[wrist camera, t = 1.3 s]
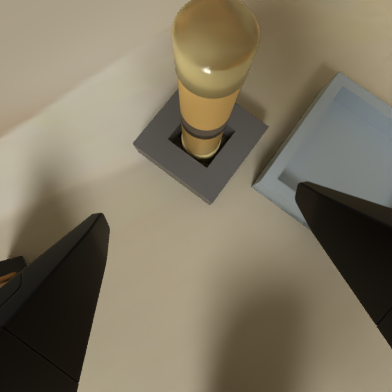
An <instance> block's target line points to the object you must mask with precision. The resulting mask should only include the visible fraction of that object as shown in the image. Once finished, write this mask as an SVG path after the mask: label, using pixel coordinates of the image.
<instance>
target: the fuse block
mask: <svg viewBox="0 0 392 392" xmlns="http://www.w3.org/2000/svg"><path fill="white" fill-rule="evenodd" d="M179 104H180V100H179V89H178V90H177V91H176V92H175V94H174V95H173V96H172V97H171V98H170V100H169V101H168V102H167V103H166V104H165V105H164V107H163V108H162V109H161V110H160V111H159V113H158V114H157V115H156V116H155V117H154V119H153V120H152V121H151V122H150V123H149V125H148V126H147V127H146V128H145V129H144V131H143V132H142V133H141V134H140V135H139V136H138V138H137V139H136V140H135V141H134V142H133V145H134V146H135V148H136V149H137V150H138V152H139V153H141V154H142V155H143V156H145V157H146V158H147V159H149V160H150V161H151V162H153V163H154V164H155V165H157V166H158V167H159V168H161V169H162V170H163V171H165V172H166V173H167V174H169V175H170V176H171V177H173V178H174V179H175V180H177V181H178V182H179V183H181V184H182V185H183V186H185V187H186V188H188V189H189V190H190V191H192V192H193V193H194V194H196V195H197V196H198V197H200V198H201V199H202V200H204V201H205V202H206V203H208V204H209V205H211V204H212V203H213V201H214V200H215V199H216V197H217V196H218V195H219V193H220V192H221V191H222V189H223V188H224V187H225V185H226V184H227V182H228V181H229V180H230V178H231V177H232V176H233V174H234V173H235V172H236V170H237V169H238V168H239V166H240V165H241V164H242V162H243V161H244V160H245V158H246V157H247V155H248V154H249V153H250V151H251V150H252V149H253V147H254V146H255V145H256V143H257V142H258V141H259V139H260V138H261V137H262V135H263V134H264V133H265V131H266V130H267V129H268V127H269V126H267V125H266V124H264V123H263V122H261V121H260V120H259V119H257V118H256V117H254V116H253V115H252V114H250V113H249V112H247V111H246V110H245V109H243V108H242V107H240V106H239V105H237V104H236V103H235V104H234V106H233V109H232V113H231V116H230V119H229V121H228V124H227V126H226V128H225V130H224V133H223V135H224V136H225V137H227V138H228V139H229V140H228V141H227V143H226V144H225V145H224V147H223V148H222V149H221V151H220V152H219V153H218V154H217V156H216V157H215V158H214V160H213V161H212V162H211V164H210V165H209V166H208V168H206V167H205V166H203V165H202V164H201V163H199V162H198V161H196V160H195V159H194V158H192V157H191V156H190V155H188V154H187V153H186V152H184V151H183V150H182V149H180V148H179V147H177V146H176V145H175V144H174V142H175V141H176V140H177V139H178V137H179V136H180V135H181V134H182V125H181V120H180V108H179Z"/></svg>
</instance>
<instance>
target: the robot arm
mask: <svg viewBox="0 0 392 392" xmlns="http://www.w3.org/2000/svg"><path fill="white" fill-rule="evenodd" d="M295 202H296V204H297V206H298V208H299V209H300V211H301V213H302V215H303V217H304V219H305V221H306V223H307V224H308V226H309V228H310V229H311V231H312V233H313V234H314V235H315V237H316V238H317V240H318V241H319V243H320V244H321V246H322V247H323V249H324V250H325V251H326V253H327V254H328V256H329V257H330V259H331V260H332V262H333V263H334V265H335V266H336V268H337V269H338V270H339V272H340V273H341V275H342V276H343V278H344V279H345V281H346V282H347V284H348V285H349V287H350V288H351V289H352V291H353V292H354V294H355V295H356V297H357V298H358V300H359V301H360V303H361V304H362V306H363V307H364V308H365V310H366V311H367V313H368V314H369V316H370V317H371V319H372V320H373V322H374V323H375V324H376V325H377V328H378V329H379V331H380V332H381V334H382V335H383V336H384V338H385V339H386V341H387V342H388V344H389V345H390V347H391V348H392V208H390V207H386V206H383V205H380V204H377V203H374V202H371V201H368V200H365V199H362V198H359V197H355V196H352V195H349V194H346V193H343V192H340V191H337V190H334V189H331V188H328V187H325V186H321V185H318V184H315V183H312V182H309V181H305V182H300V183H298V185H297V189H296V194H295ZM109 234H110V228H109V225H108V223H107V221H106V218H105V216H104V214H103V213H95V214H92V215H91V216H89V217H88V218H87V219H86V220H84V221H83V222H82V223H81V224H79V225H78V226H77V227H76V228H74V229H73V230H72V231H71V232H69V233H68V234H67V235H66V236H64V237H63V238H62V239H61V240H59V241H58V242H57V243H56V244H54V245H53V246H52V247H51V248H49V249H48V250H47V251H46V252H44V253H43V254H42V255H41V256H39V257H38V258H37V259H36V260H34V261H33V262H32V263H31V264H29V265H28V266H27V267H26V268H24V269H23V270H22V271H21V272H19V273H18V274H17V275H16V276H14V277H13V278H12V279H11V280H9V281H8V282H7V283H5V284H4V285H3V286H2V287H0V392H77V389H78V385H79V384H78V383H79V380H80V375H81V371H82V367H83V362H84V358H85V354H86V349H87V345H88V340H89V336H90V332H91V327H92V323H93V319H94V314H95V310H96V306H97V301H98V297H99V292H100V288H101V284H102V279H103V275H104V271H105V266H106V261H107V253H108V243H109Z"/></svg>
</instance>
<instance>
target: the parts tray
mask: <svg viewBox="0 0 392 392" xmlns="http://www.w3.org/2000/svg"><path fill="white" fill-rule="evenodd" d="M305 181H309V182H312V183H315V184H318V185H321V186H325V187H328V188H331V189H334V190H337V191H340V192H343V193H346V194H349V195H352V196H355V197H359V198H362V199H365V200H368V201H371V202H374V203H377V204H380V205H383V206H386V207H390V208H392V107H391V106H389V105H388V104H386V103H385V102H383V101H382V100H381V99H379V98H378V97H376V96H375V95H373V94H372V93H370V92H369V91H367V90H366V89H364V88H363V87H361V86H360V85H358V84H357V83H355V82H354V81H352V80H351V79H349V78H348V77H346V76H345V75H344V74H342V73H341V72H338V73H337V74H336V75H335V76H334V77H333V78H332V79H331V80H330V81H329V82H328V83H327V84H326V85H325V86H324V87H323V88H322V89H321V91H320V92H319V93H318V95H317V96H316V98H315V99H314V100H313V102H312V103H311V105H310V106H309V107H308V109H307V110H306V112H305V113H304V114H303V116H302V117H301V118H300V120H299V121H298V123H297V124H296V125H295V127H294V128H293V130H292V131H291V132H290V134H289V135H288V136H287V138H286V139H285V141H284V142H283V143H282V145H281V146H280V148H279V149H278V150H277V152H276V153H275V155H274V156H273V157H272V159H271V160H270V161H269V163H268V164H267V166H266V167H265V168H264V170H263V171H262V173H261V174H260V175H259V177H258V178H257V180H256V181H255V182H254V184H253V185H252V186H251V187H253V188H254V189H255V190H257V191H258V192H259V193H261V194H262V195H264V196H265V197H266V198H268V199H269V200H270V201H272V202H273V203H274V204H276V205H277V206H279V207H280V208H281V209H283V210H284V211H285V212H287V213H288V214H290V215H291V216H292V217H294V218H295V219H296V220H298V221H299V222H300V223H302V224H303V225H305V226H306V227H307V228H309V226H308V224H307V223H306V221H305V219H304V217H303V215H302V213H301V211H300V209H299V208H298V206H297V204H296V202H295V194H296V189H297V185H298V183H300V182H305ZM309 229H310V228H309ZM310 230H311V229H310Z"/></svg>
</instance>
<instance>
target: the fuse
mask: <svg viewBox="0 0 392 392" xmlns="http://www.w3.org/2000/svg"><path fill="white" fill-rule="evenodd" d="M172 39H173V50H174V61H175V70H176V74H177V76H178V87H179V100H180V104H179V108H180V120H181V125H182V147H183V151H184V152H186V153H187V154H188V155H190V156H191V157H192V158H194V159H195V160H196V161H198V162H205V161H208V160H210V159H212V158H213V157H214V156H215V155H216V153H217V151H218V149H219V146H220V143H221V138H222V135H223V133H224V130H225V128H226V126H227V124H228V121H229V119H230V116H231V113H232V109H233V106H234V104H235V101H236V98H237V96H238V93H239V90H240V88H241V86H242V84H243V83H244V81H245V79H246V77H247V74H248V72H249V69H250V67H251V64H252V61H253V59H254V56H255V54H256V51H257V49H258V46H259V41H260V30H259V25H258V22H257V20H256V18H255V16H254V15H253V13H252V12H251V11H250V10H249V9H248V8H247V7H246V6H245V5H244V4H242V3H241V2H239V1H238V0H191V1H189V2H188V3H187V4H185V5H184V6H183V7H182V8H181V9H180V11H179V12H178V13H177V15H176V17H175V19H174V22H173V26H172Z"/></svg>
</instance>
